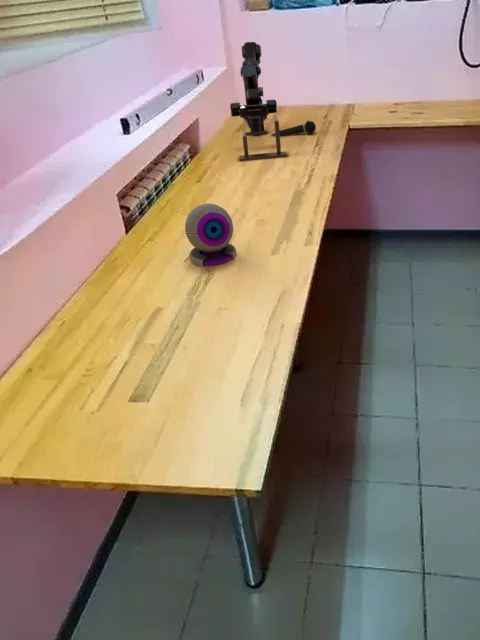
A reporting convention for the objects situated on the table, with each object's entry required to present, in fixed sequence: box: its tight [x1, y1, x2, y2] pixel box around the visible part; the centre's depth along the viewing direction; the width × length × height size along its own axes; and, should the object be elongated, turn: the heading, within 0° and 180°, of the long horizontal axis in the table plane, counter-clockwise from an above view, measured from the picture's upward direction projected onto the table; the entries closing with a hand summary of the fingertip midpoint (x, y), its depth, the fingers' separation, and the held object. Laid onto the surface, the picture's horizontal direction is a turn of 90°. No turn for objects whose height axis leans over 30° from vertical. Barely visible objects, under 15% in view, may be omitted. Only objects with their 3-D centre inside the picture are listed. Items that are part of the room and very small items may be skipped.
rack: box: [238, 115, 288, 162], centre depth 246 cm, size 8×19×14 cm, turn 96°
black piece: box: [245, 116, 268, 137], centre depth 251 cm, size 2×9×7 cm, turn 95°
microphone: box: [270, 120, 317, 137], centre depth 273 cm, size 6×6×20 cm
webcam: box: [184, 203, 238, 267], centre depth 169 cm, size 13×13×15 cm
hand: (255, 126), depth 250 cm, fingers closed on black piece, 4 cm apart
